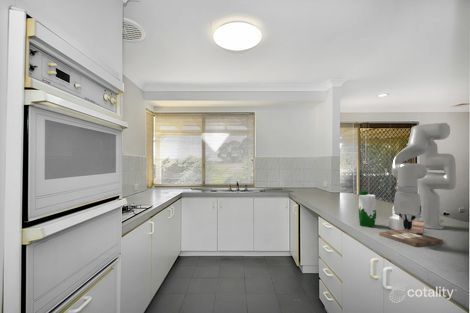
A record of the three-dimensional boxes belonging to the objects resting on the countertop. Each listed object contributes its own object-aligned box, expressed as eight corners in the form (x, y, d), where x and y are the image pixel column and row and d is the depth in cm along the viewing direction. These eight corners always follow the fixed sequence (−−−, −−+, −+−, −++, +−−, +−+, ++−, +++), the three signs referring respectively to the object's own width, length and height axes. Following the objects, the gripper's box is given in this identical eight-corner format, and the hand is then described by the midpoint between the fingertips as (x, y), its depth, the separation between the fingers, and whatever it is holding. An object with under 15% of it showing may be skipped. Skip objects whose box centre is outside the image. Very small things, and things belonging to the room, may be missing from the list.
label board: (404, 232, 131) (404, 221, 131) (442, 242, 114) (442, 230, 114) (379, 235, 125) (379, 224, 125) (415, 246, 108) (415, 233, 108)
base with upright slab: (411, 231, 133) (411, 209, 133) (393, 230, 134) (393, 208, 135) (403, 227, 141) (403, 206, 142) (386, 226, 143) (386, 205, 144)
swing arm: (414, 223, 125) (414, 220, 125) (424, 224, 122) (424, 221, 122) (411, 231, 110) (411, 227, 110) (423, 233, 107) (422, 229, 107)
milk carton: (359, 222, 151) (359, 190, 151) (376, 224, 146) (376, 191, 147) (358, 225, 143) (358, 191, 144) (375, 228, 139) (375, 192, 139)
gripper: (386, 188, 120) (386, 226, 119) (423, 192, 107) (423, 234, 107) (393, 188, 124) (393, 224, 123) (429, 191, 112) (430, 231, 111)
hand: (407, 228), depth 115 cm, fingers closed
